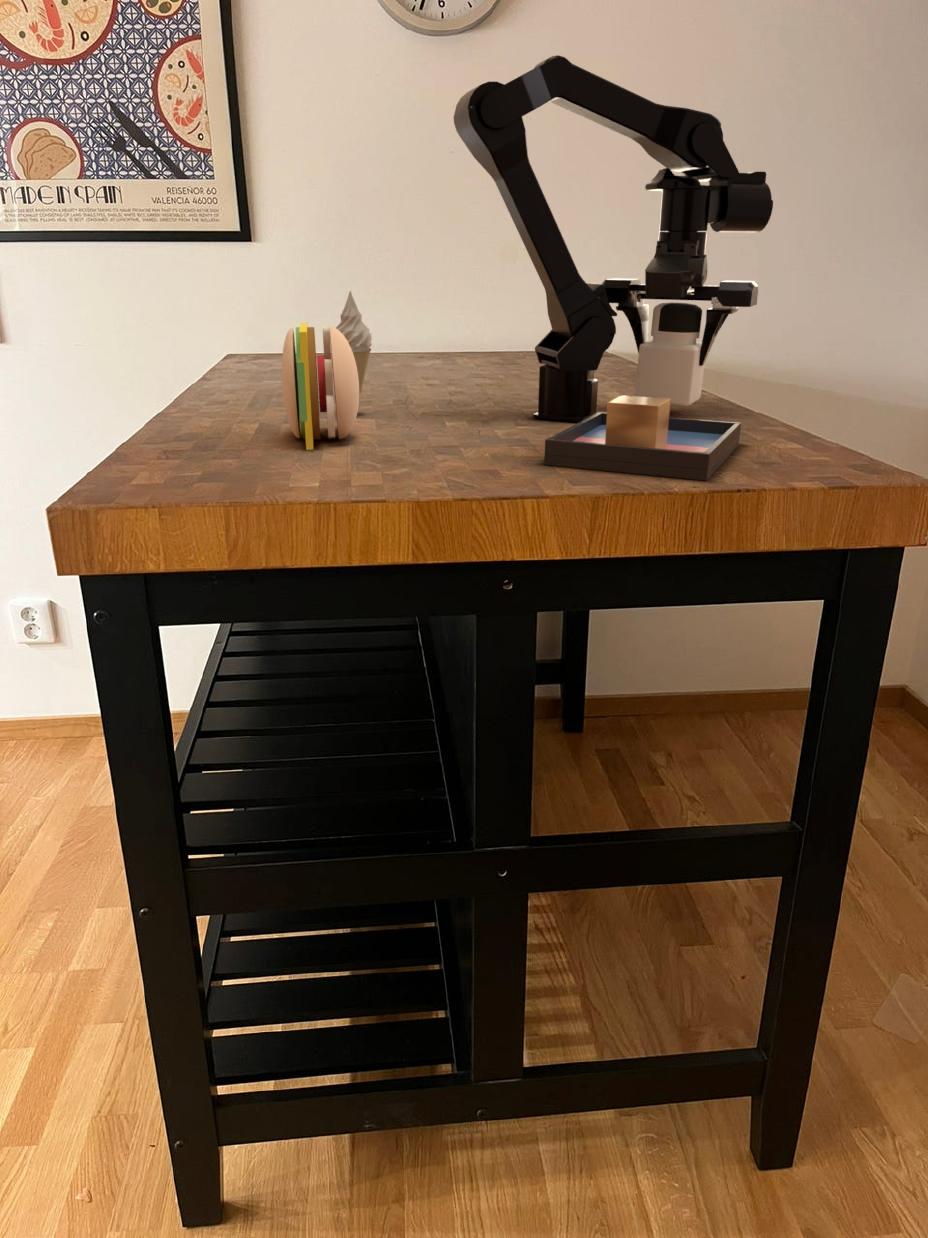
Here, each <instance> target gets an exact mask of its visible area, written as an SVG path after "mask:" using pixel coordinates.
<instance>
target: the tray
mask: <svg viewBox="0 0 928 1238" xmlns="http://www.w3.org/2000/svg"><path fill="white" fill-rule="evenodd" d="M606 421H607V412H603V411H597V412H596V414H594V415H592V416H590V417H589V418H587V419H585V420H583V421H578V422H577V423H574V424H573V425H571V426H569V427H567V428H565V429H564V430H561V431H559V432H558V433H556V434H554V435H551V436H550V437H548V438H546V439H545V440H544V441H545V442H544V463H543V464H544V465H545V466H554V467H565V468H576V469H583V470H593V471H603V472H615V473H625V474H634V475H645V476H653V477H654V476H655V477H664V478H665V477H666V478H674V479H675V478H676V479H685V480H694V481H708V480H709V479H710V477H711V476H713V474H714V473H715V472H716V471H717V470H718V469H719V468H720V467H721V466H722V464H723V463H724V462H725V461H726V460H727V459H728V458H729V457H730V456H731V455H732V453H734V451H735V450H736V449H737V448H738V447H739V445H740V437H741V436H740V435H741V428H742V422H739V421H738V422H736V421H722V420H710V419H696V418H684V417H683V418H682V417H670V416H669V423H668V435H667V447H666V449H658V448H647V447H636V446H624V445H613V444H605V438H606Z"/></svg>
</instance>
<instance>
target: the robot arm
mask: <svg viewBox="0 0 928 1238" xmlns="http://www.w3.org/2000/svg"><path fill="white" fill-rule="evenodd" d="M548 103H552V104H554V105H556V106H558V107H560V108H563V109H565V110H567V111H568V112H569V111H570V112H572V113H574V114H576V115H578V116H580V117H582V118H584V119H587V120H589V121H591V122H594V123H595V124H598V125H600V126H601V127H604V128H607V129H609V130H611V131H613V132H615V133H617V134H619V135H621V136H624V137H626V138H629V139H631V140H632V141H634V142H635V143H636V144H638V145H639V146H640V147H641V148H642V149H643V150H644V152H646V154H647V155H648V156H649V157H651V158H652V159H653V160H655V161H656V162H657V163H659V164H660V165H662V166H663V167H664V168H660V169H659V170H658V172H657V173H656V175H655V176H654V177H653V178H652V179H650V181H648V182H647V183H646V184H645V187H644V189H645V190H646V191H648V192H649V191H651V192H652V191H653V192H661V201H660V202H661V203H660V215H659V228H658V240H656V246H655V253H654V256H653V258H652V259H651V260H650V262H649V263H648V264H647V266H646V267H645V269H644V284H643V283H641V278H606V279H604V280H603V281H602V283H593V282H592V283H591V282H586V281H585V280H584V278H583V277H582V276H581V274H580V273H579V270H578V268H577V266H576V264H575V262H574V259H573V257H572V254H571V253H570V250H569V248H568V245H567V244H566V241H565V239H564V237H563V234H562V232H561V230H560V228H559V225H558V223H557V221H556V219H555V217H554V213H553V212H552V210H551V207H550V205H549V203H548V201H547V199H546V196H545V194H544V192H543V189H542V187H541V185H540V183H539V181H538V178H537V176H536V173H535V171H534V170H533V168H532V164H531V162H530V159H529V152H528V142H527V131H526V126H525V122H524V119H523V117H524V116H527V114H529V113H531V112H533V111H535V110H536V109H538V108H540V107H542V106H543V105H545V104H548ZM453 124H454V127H455V132H456V133H457V134H458V136H459V138H460V139H461V141H462V142H463V144H464V145H465V147H466V148H467V149H468V151H469V152H470V154H471V155H472V156H473V158H474V160H476V162H477V163H478V164H479V165H480V166H481V167H482V168H483V169H484V170H485V171H486V173H488V174H489V176H490V177H491V178H492V180H493V181H494V183H495V186H496V187H497V190H498V192H499V194H500V196H501V199H502V201H503V203H504V205H505V207H506V209H507V211H508V213H509V215H510V218H511V219H512V222H513V224H514V225H515V228H516V230H517V232H518V235H519V237H520V239H521V241H522V243H523V246H524V248H525V250H526V252H527V254H528V257H529V258H530V260H531V263H532V265H533V267H534V269H535V271H536V273H537V275H538V277H539V279H540V282H541V284H542V286H543V287H544V291H545V296H546V297H545V298H546V308H547V317H548V320H549V323H550V326H551V329H550V330H549V332H548V333H547V334H546V335H544V337H543V338H542V339H540V341H539V342H538V344H536V345H535V346H534V352H535V355H536V358H537V361H538V364H541V365H540V366H539V367H538V368H539V371H538V372H539V374H538V375H539V376H538V400H537V401H538V402H537V411H536V412H535V413H532V418H533V419H543V420H553V421H554V420H556V421H569V422H581V421H583V420H585V419H587V418H589V417H590V416H592V415H594V414H596V413H597V409H598V408H597V406H598V390H599V380H598V379H597V378H595V371H598V368H599V367H600V364H601V361H602V358H603V356H604V353H605V352H606V351H607V350H608V349H609V348H610V346H611V345H612V344H613V342H614V338H615V335H616V334H617V326H616V323H615V319H614V318H613V317H617V316H618V313H617V311H618V312H619V311H620V312H623V314H624V315H625V317H626V318H627V320H628V323H629V325H630V328H631V330H632V334H633V337H634V340H635V345H636V349H637V352H638V354H639V348H640V345H641V344H643V343H646V342H649V316H650V315H649V314H650V313H649V312H650V304H644V302H645V300H666V301H668V300H669V301H703V302H706V301H707V302H711V303H710V304H712V305H711V306H712V307H710V308H707V309H706V313H705V326H704V330H703V336H702V341H701V343H702V345H701V350H700V360H699V366H703V365H704V363H705V364H706V361H707V358H708V357H709V354H710V351H711V349H712V347H713V345H714V343H715V341H716V338H717V336H718V334H719V332H720V330H721V329H722V327H723V326H724V323H725V322H726V321H727V319H728V316H729V315H733V314H735V313H737V312H739V308H751V307H754V306H756V305H757V304H758V297H759V285H758V284H757V282H756V281H754V280H722V281H721V280H720V282H719V285H705V284H706V281H707V278H708V258H707V254H706V250H707V237H708V236H707V235H708V225H709V226H710V228H711V229H712V231H713V232H715V233H759V232H762V231H763V230H764V229H765V228H766V227H767V225H768V224H769V222H770V219H771V217H772V214H773V208H774V200H773V199H772V198H773V197H772V192H771V191H772V190H771V188H770V186H769V184H768V183H767V182H766V180H767V172H766V171H749V172H740V171H739V169H738V167H737V165H736V163H735V161H734V159H733V157H732V155H731V153H730V151H729V149H728V146H727V145H726V143H725V141H724V131H723V129H722V123H721V121H720V120H719V118H717V117H716V116H715V115H713V114H712V113H709V112H704V111H700V110H696V109H691V108H687V107H682V106H681V107H679V106H672V105H664V104H660V103H657V102H654V101H652V100H650V99H647V98H645V97H644V96H642V95H639V94H637V93H635V92H633V91H631V90H628V89H627V88H625V87H622V86H620V85H618V84H616V83H614V82H611V81H610V80H608V79H606V78H603V77H601V76H600V75H597V74H596V73H593V72H591V71H589V70H586V69H584V68H583V67H580V66H578V65H576V64H574V63H572V62H571V61H570V60H569V59H568V58H567V57H565V56H562V55H552V56H550V57H548V58H546V59H543V60H542V61H540V62H538V64H536V65H535V67H534V68H532V69H531V70H529V71H527V72H525V73H523V74H521V75H519V76H518V77H516V78H514V79H511V80H510V81H508V82H506V83H505V84H504V83H501V82H499V81H487V82H483V83H481V84H479V85H477V86H476V87H474V88H472V89H470V90H468V91H467V92H465V94H463V95H462V96H461V97H460V98H459V100H458V102H457V103H456V106H455V109H454V113H453ZM674 172H676V173H678V172H680V173H682V174H683V175H675V174H674ZM701 182H709V183H708V184H701ZM689 289H691V290H689ZM611 304H617V305H616V306H615V310H616V311H615V310H614V309H613V308H612V305H611Z"/></svg>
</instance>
